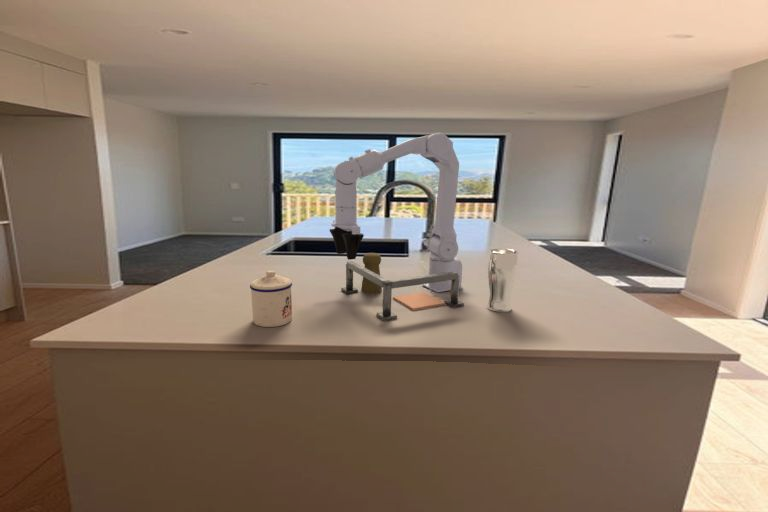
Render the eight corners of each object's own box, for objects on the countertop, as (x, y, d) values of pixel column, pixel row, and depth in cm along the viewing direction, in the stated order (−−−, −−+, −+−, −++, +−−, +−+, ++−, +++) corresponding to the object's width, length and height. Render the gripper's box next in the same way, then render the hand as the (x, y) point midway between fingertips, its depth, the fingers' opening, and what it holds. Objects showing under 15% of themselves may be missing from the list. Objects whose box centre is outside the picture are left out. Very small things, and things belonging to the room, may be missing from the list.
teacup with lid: (291, 327, 86) (290, 276, 84) (248, 329, 85) (245, 277, 82) (295, 308, 98) (293, 263, 95) (257, 309, 96) (254, 263, 94)
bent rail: (410, 280, 124) (411, 253, 122) (463, 306, 102) (465, 273, 100) (341, 290, 113) (341, 260, 111) (383, 321, 91) (384, 284, 89)
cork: (379, 294, 110) (380, 256, 107) (358, 293, 111) (358, 255, 108) (383, 288, 115) (384, 251, 113) (363, 286, 117) (364, 250, 114)
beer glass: (498, 314, 96) (503, 255, 93) (479, 305, 102) (483, 249, 99) (519, 310, 99) (524, 252, 96) (499, 302, 105) (504, 247, 102)
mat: (423, 294, 111) (423, 291, 111) (445, 304, 103) (445, 302, 102) (393, 298, 106) (393, 296, 106) (412, 310, 98) (413, 308, 98)
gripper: (322, 205, 111) (323, 252, 114) (342, 210, 98) (342, 263, 101) (346, 204, 114) (346, 250, 117) (367, 209, 101) (367, 260, 104)
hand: (346, 256), depth 109 cm, fingers open, 7 cm apart
